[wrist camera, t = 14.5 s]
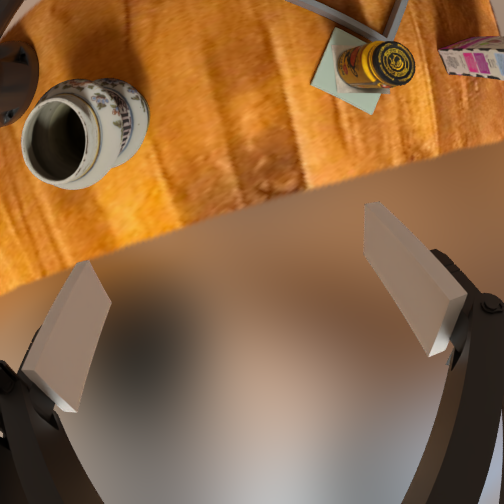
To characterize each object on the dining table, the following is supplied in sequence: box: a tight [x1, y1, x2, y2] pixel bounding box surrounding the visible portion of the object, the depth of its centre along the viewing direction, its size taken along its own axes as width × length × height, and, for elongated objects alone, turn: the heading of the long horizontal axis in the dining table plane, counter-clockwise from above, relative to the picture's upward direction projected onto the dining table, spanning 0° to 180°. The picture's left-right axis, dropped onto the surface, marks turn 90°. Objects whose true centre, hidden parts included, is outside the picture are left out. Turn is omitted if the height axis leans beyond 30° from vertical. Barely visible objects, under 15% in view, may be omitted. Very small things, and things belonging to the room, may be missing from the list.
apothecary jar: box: [21, 78, 150, 190], centre depth 29 cm, size 12×12×18 cm
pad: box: [310, 27, 381, 115], centre depth 35 cm, size 10×10×1 cm
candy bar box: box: [438, 36, 504, 80], centre depth 25 cm, size 11×5×16 cm, turn 123°
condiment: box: [331, 41, 415, 94], centre depth 29 cm, size 7×8×12 cm
